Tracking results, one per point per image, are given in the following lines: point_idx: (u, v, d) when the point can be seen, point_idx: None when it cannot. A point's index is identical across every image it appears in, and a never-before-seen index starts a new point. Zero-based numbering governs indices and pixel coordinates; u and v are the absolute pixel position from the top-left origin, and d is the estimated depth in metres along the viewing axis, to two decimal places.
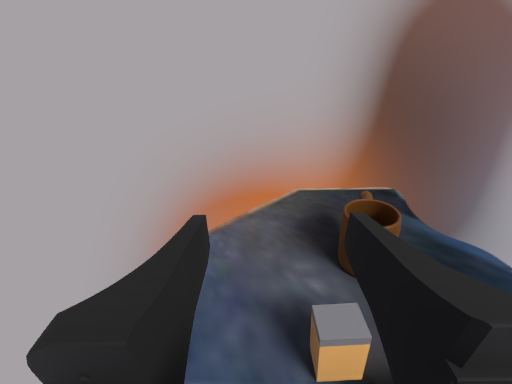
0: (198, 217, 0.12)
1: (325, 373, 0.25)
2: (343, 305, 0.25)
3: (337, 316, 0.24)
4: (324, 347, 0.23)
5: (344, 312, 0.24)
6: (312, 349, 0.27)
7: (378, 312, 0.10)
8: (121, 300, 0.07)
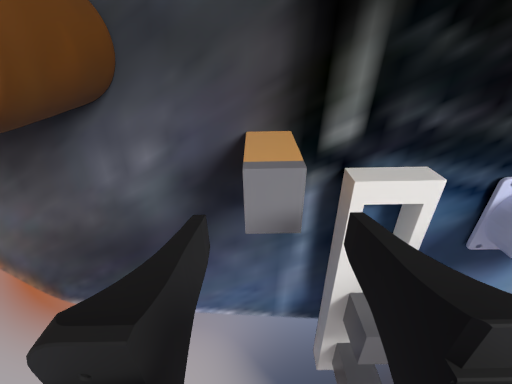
0: (197, 217, 0.12)
1: None
2: (247, 191, 0.14)
3: (266, 204, 0.15)
4: None
5: (260, 193, 0.14)
6: None
7: (378, 312, 0.10)
8: (122, 300, 0.07)
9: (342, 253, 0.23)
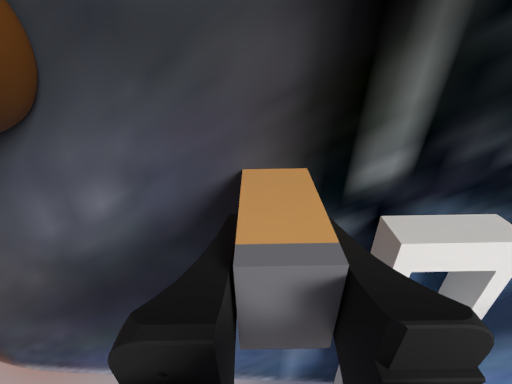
0: (235, 216, 0.12)
1: None
2: (243, 298, 0.08)
3: (275, 314, 0.09)
4: None
5: (265, 300, 0.08)
6: None
7: None
8: (189, 299, 0.07)
9: None
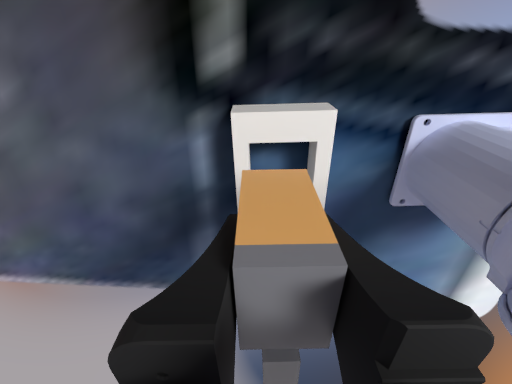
0: (235, 216, 0.12)
1: None
2: (243, 298, 0.08)
3: (274, 315, 0.09)
4: None
5: (264, 300, 0.08)
6: None
7: None
8: (189, 299, 0.07)
9: None
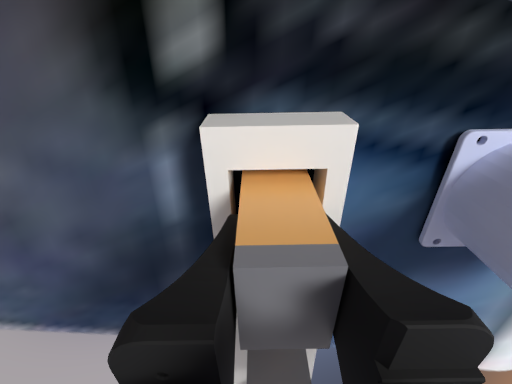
0: (235, 216, 0.12)
1: None
2: (243, 299, 0.08)
3: (275, 315, 0.09)
4: None
5: (265, 301, 0.08)
6: None
7: None
8: (189, 299, 0.07)
9: None
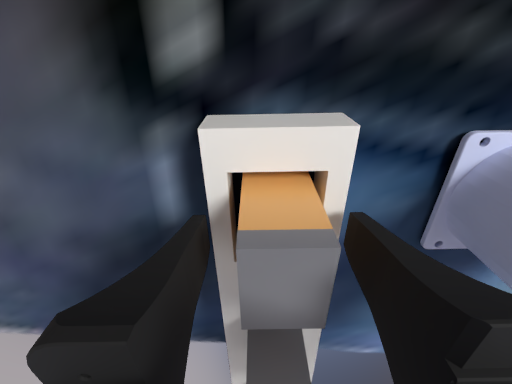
0: (198, 217, 0.12)
1: None
2: (244, 279, 0.09)
3: (274, 295, 0.09)
4: None
5: (265, 281, 0.09)
6: None
7: (378, 312, 0.10)
8: (122, 300, 0.07)
9: (217, 255, 0.14)
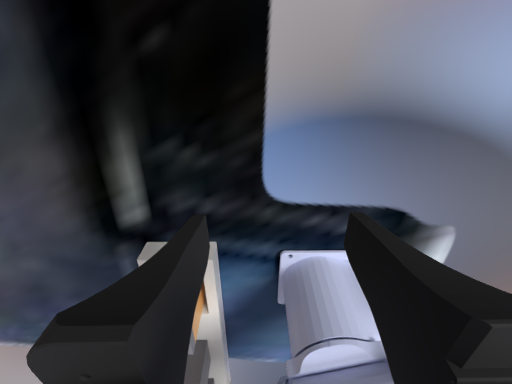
0: (198, 217, 0.12)
1: (203, 296, 0.27)
2: None
3: None
4: (195, 339, 0.24)
5: None
6: None
7: (378, 312, 0.10)
8: (122, 300, 0.07)
9: None
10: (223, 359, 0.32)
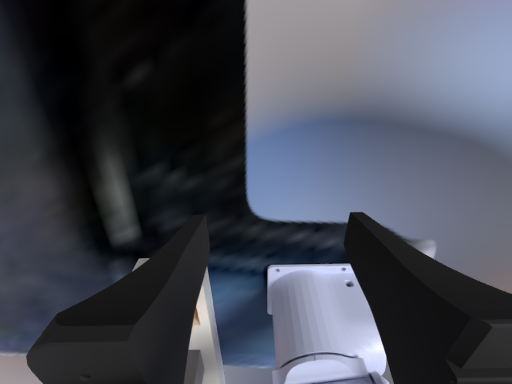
0: (198, 217, 0.12)
1: None
2: None
3: None
4: None
5: None
6: None
7: (378, 312, 0.10)
8: (122, 300, 0.07)
9: None
10: (216, 367, 0.33)
